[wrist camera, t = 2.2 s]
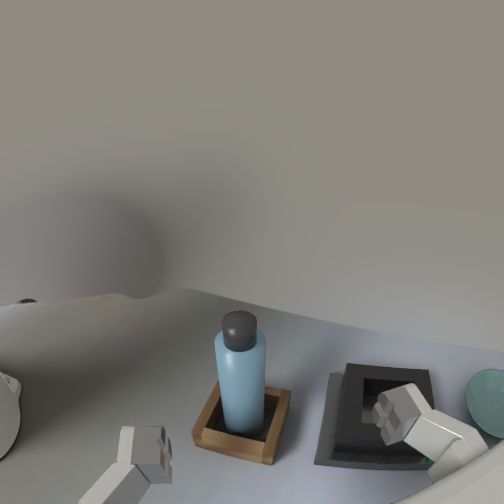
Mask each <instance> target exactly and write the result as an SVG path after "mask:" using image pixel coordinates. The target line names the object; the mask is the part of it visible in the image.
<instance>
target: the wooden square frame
mask: <svg viewBox="0 0 504 504" xmlns="http://www.w3.org/2000/svg"><path fill="white" fill-rule="evenodd" d="M290 396H291V391H287V390H281V389H276V388H271V387H265V389H264V409H265V410H270V411H275V414H274V417H273V420H272V423H271V426H270V429H269V432H268V436H267V439H266V442H260V441H255V440H251V439H247V438H242V437H238V436H234V435H230V434H227V433H223V432H219V431H215V430H214V428H215V426H216V424H217V422H218V420H219V418H220V415H221V413H222V411H223V406H222V399H221V391H220V384H219V380H218V381H217V383H216V385H215V387H214V389H213V391H212V393H211V395H210V397H209V399H208V401H207V403H206V405H205V407H204V409H203V411H202V412H201V414H200V416H199V418H198V420H197V422H196V424H195V426H194V428H193V430H192V432H191V433H192V436H193V439H194V442H195V445H196V446H198V447H201V448H204V449H207V450H211V451H214V452H217V453H221V454H225V455H228V456H232V457H236V458H240V459H244V460H248V461H252V462H257V463H261V464H266V465H271V466H272V463H273V460H274V457H275V454H276V450H277V447H278V444H279V440H280V437H281V434H282V430H283V427H284V423H285V420H286V416H287V412H288V409H289V403H290Z"/></svg>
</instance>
